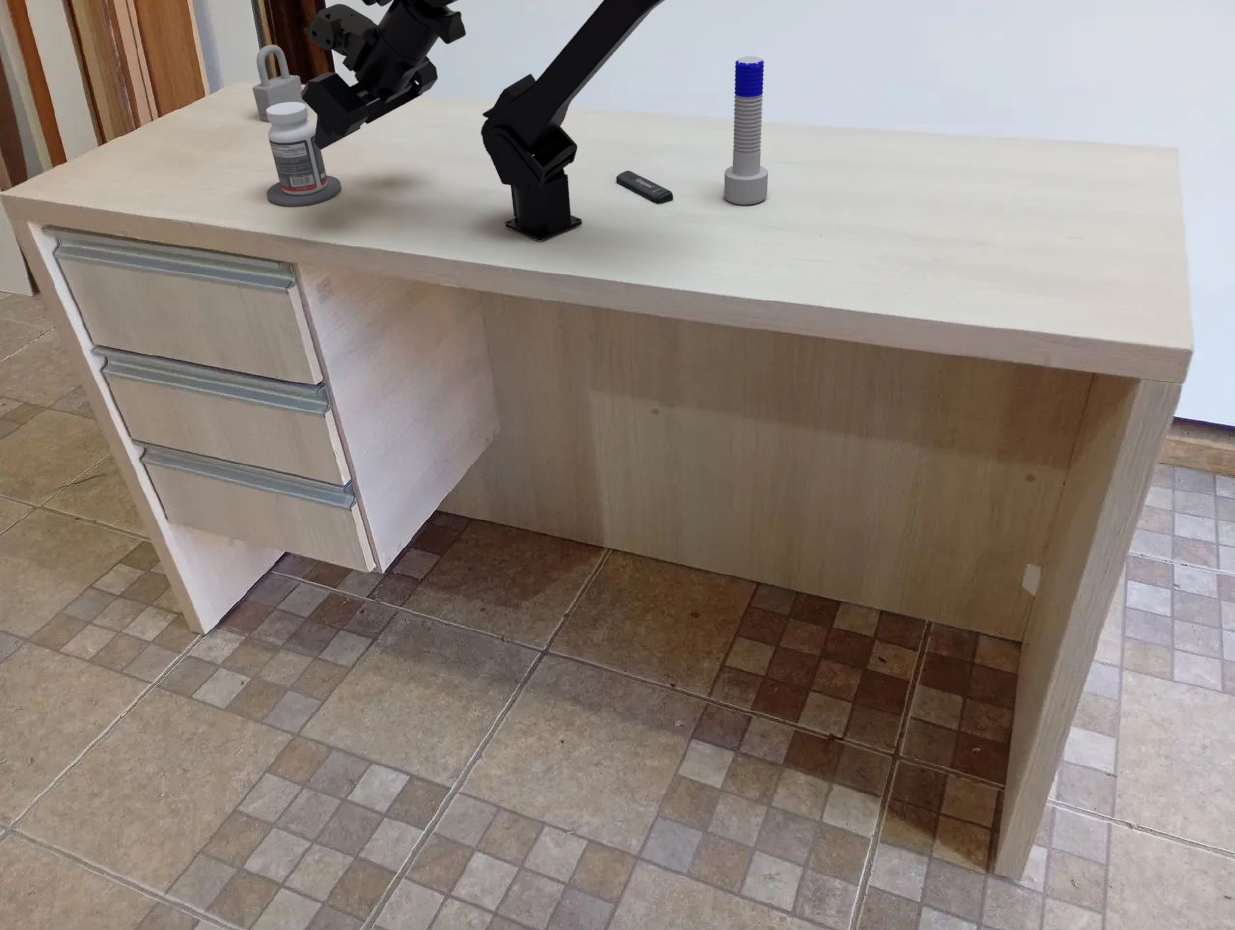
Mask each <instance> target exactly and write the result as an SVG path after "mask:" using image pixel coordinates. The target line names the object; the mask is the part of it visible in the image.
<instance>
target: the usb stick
mask: <svg viewBox="0 0 1235 930" xmlns="http://www.w3.org/2000/svg"><path fill="white" fill-rule="evenodd" d="M615 180H616V183H617V184H619V185H620V186H622V187H625V188H626V189H628V190H630V191H632V192H634V193H636V194H638V195H640V196H641V197H643V198H646V199H647V200H649V201H651V202H653V203H655V204H657V205H658V204H660V205H661V204H662V205H663V204H666V203H670V202H672V201H673V200H674V193H673V192H672V191H671V190H669V189H667V188H665V187H663V186H661V185H659V184H658V183H655V182H653V181H651V180H649V179H647V178H645V177H643V176H641V175H639V174H637V173H635V172H633V171H632V170H625V171H622V172H621V173H619V174H618V175H617V176H616V177H615Z"/></svg>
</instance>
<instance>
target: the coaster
mask: <svg viewBox="0 0 1235 930" xmlns="http://www.w3.org/2000/svg"><path fill="white" fill-rule="evenodd" d="M326 175H327V180H328V183H327V185H326V187H325V188H324V189H322V190H320V191H318V192H315V193H312V194H307V195H290V194H287V193H285V192H284V191H283V190H282V188H281V185H280V181H279V182H276V183H275V184H272V185H271V186H270V187H269V188H268V189H267V191H266V195H267V199H268V201H269V202H270V203H271V204H273V205H275V206H279V207H287V208H289V207H290V208H296V207H297V208H299V207H308V206H311V205H312V206H313V205H317V204H320V203H323V202H326V201H328V200H331V199H333V198H334V197H336V196H337V195H339V194H340V192H341V191H342V183H341V181H340V180H339V178H337V177H334V176H332V175H328V174H326Z"/></svg>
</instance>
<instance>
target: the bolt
mask: <svg viewBox="0 0 1235 930" xmlns="http://www.w3.org/2000/svg"><path fill="white" fill-rule="evenodd" d="M734 62H735V66H734V68H735V70H734V73H735V74H734V76H735V77H734V104H733V107H734V109H733V111H734V113H733V115H734V116H733V146H732V147H733V149H732V165H731V166H729V167H726V169H725V170H724V177H723V178H724V185H723V187H724V189H723V191H724V192H723V195H724V198H725V199H726V201H728V202H730V203H732V204H735V205H741V206H742V205H744V206H749V205H750V206H751V205H757V204H759V203H761V202H764V200H765V199H766V198H767V196H768V185H769V184H768V182H769V181H768V178H769V170H768V169H767V168H766V167H764V166H762V165H761V156H762V155H761V153H762V150H761V147H762V145H761V144H762V141H761V140H762V122H763V121H762V119H763V116H762V115H763V112H762V111H763V101H764V100H763V97H764V96H763V93H764V90H763V89H764V71H765V70H764V69H765V68H764V67H765V61H764V60H763V58H761V57H758V56H743V57H739V58H738V59H737V60H736V61H734Z"/></svg>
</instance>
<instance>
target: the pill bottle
mask: <svg viewBox="0 0 1235 930" xmlns="http://www.w3.org/2000/svg"><path fill="white" fill-rule="evenodd" d="M266 113H267V118H268V121H267V122H269V123H270V124H271V126H270V128H269V130H268V132H267V137H268V141H269V145H270V149H271V152H272V153H271V154H272V156H273V160H274V164H275V168H276V173H277V177H278V180H279V182H280V185H281V188H282V190H283V191H284V192H285V193H287V194H290V195H307V194H312V193H315V192H318V191H320V190H322V189H324V188H325V187H326V185H327V183H328V180H327V175H328V174H327V172H326V167H325V162H324V157H323V154H322V150H321V149H319V148H318V147H317V146H316V145H315V143H314V139H315V131H316V125H314V123H312V122H311V121H310V120H308V116H309V112H308V109H307V104H306V105H305V104H304V103H300V102H285V103H280V104H276V105H273V106H270V107H269V108H267V110H266Z"/></svg>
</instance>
